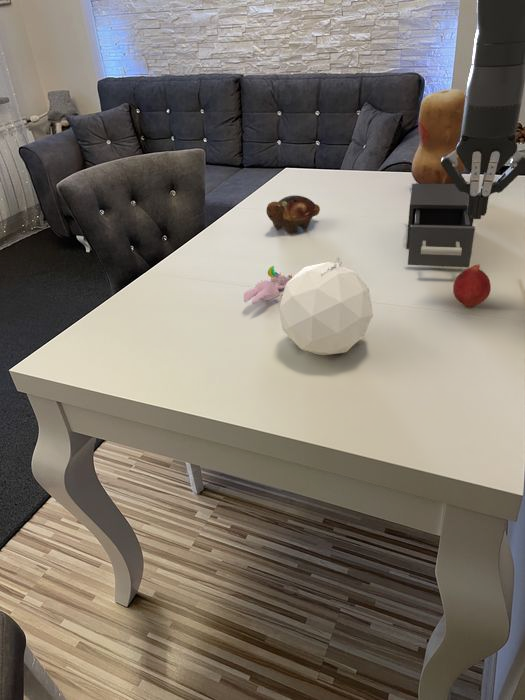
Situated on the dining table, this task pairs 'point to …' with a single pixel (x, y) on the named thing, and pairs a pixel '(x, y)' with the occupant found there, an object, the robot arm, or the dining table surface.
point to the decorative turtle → (292, 212)
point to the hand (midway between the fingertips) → (475, 217)
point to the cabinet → (435, 200)
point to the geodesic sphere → (325, 308)
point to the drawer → (441, 238)
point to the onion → (472, 286)
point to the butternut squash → (438, 135)
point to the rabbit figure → (267, 287)
